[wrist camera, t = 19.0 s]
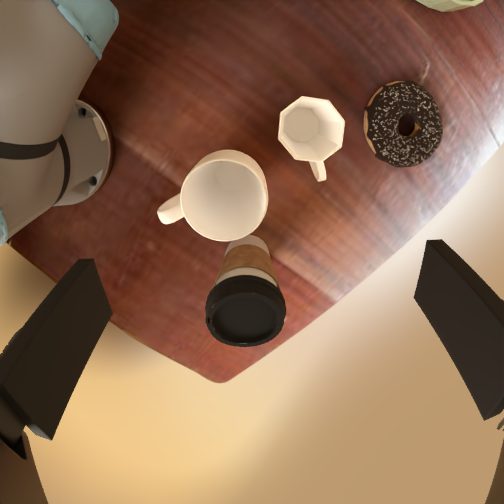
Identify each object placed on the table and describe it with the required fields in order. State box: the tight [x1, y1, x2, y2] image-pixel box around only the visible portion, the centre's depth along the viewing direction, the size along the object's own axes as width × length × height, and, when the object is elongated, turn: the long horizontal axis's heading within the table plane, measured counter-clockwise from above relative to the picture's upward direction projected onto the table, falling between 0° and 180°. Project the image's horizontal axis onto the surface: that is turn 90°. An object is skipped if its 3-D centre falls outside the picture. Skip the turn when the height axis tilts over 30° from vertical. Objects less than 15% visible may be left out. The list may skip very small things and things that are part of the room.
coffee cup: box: [205, 235, 286, 347], centre depth 36 cm, size 8×8×15 cm
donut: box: [364, 81, 443, 167], centre depth 32 cm, size 11×12×4 cm
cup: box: [278, 96, 345, 182], centre depth 32 cm, size 7×10×8 cm
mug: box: [157, 150, 268, 241], centre depth 33 cm, size 12×8×11 cm
